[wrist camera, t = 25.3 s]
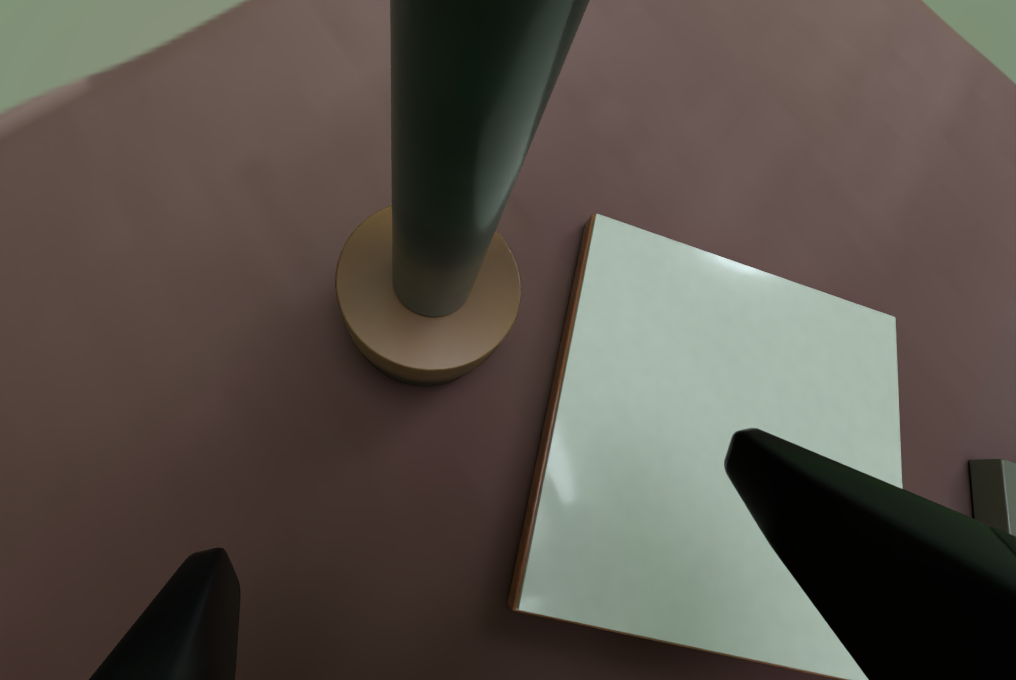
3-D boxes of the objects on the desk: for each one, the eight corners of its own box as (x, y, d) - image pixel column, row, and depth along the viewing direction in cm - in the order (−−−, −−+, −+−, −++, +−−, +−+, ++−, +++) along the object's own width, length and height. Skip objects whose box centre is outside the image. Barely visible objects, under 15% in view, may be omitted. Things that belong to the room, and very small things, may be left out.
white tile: (506, 604, 15) (514, 613, 14) (584, 223, 19) (594, 210, 18) (884, 684, 17) (913, 696, 16) (875, 322, 21) (897, 315, 20)
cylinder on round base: (507, 383, 17) (814, 128, 5) (352, 400, 15) (191, 101, 3) (487, 248, 18) (685, -238, 6) (342, 253, 17) (201, -365, 4)
